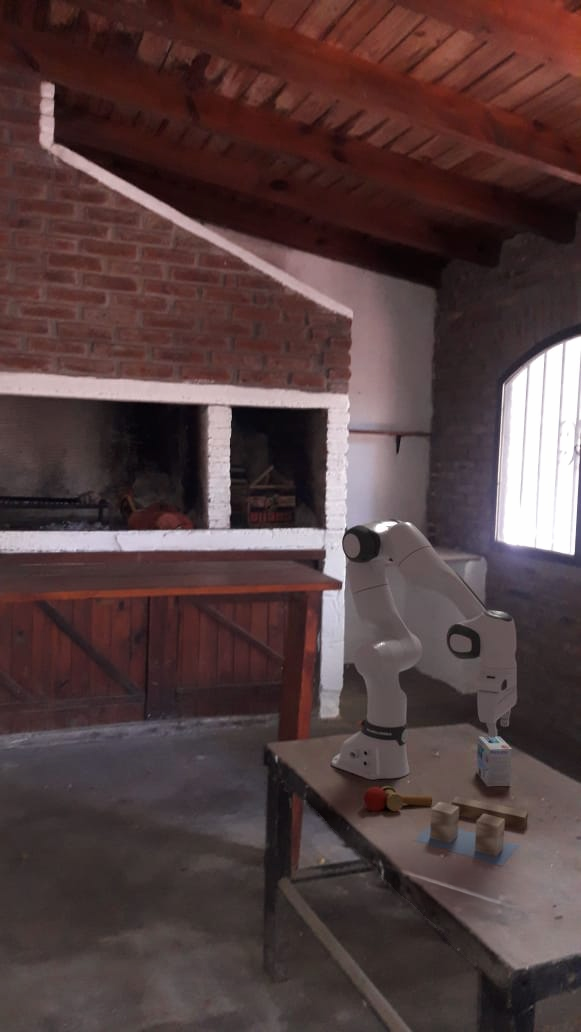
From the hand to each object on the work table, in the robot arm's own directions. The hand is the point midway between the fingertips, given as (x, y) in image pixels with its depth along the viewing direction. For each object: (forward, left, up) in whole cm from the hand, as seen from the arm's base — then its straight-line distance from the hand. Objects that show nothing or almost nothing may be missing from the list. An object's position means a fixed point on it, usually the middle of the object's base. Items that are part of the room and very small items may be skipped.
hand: (498, 731), depth 208 cm
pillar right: (+5, -19, -22) cm, 29 cm away
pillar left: (-6, -19, -22) cm, 29 cm away
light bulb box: (-9, +24, -23) cm, 34 cm away
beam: (-1, -3, -23) cm, 23 cm away
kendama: (-22, -9, -23) cm, 33 cm away
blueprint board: (-1, -19, -22) cm, 29 cm away
